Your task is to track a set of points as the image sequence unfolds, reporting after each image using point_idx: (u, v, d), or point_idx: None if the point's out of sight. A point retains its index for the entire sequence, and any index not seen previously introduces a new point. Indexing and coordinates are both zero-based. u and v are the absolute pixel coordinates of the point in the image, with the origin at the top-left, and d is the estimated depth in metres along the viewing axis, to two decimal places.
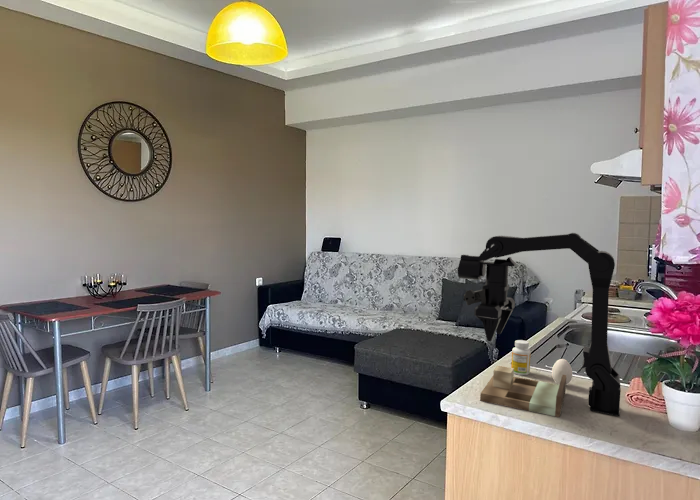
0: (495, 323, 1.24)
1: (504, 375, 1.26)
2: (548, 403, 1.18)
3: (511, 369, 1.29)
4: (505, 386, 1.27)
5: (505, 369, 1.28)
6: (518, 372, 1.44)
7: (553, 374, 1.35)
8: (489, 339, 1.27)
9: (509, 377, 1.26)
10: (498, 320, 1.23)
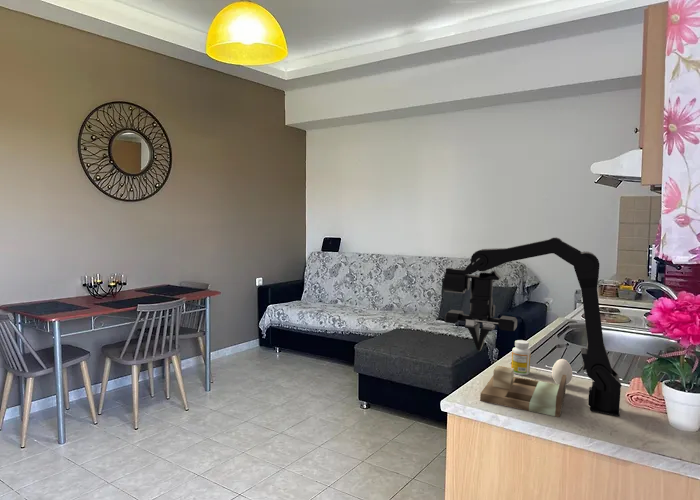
0: None
1: (504, 375, 1.26)
2: (548, 403, 1.18)
3: (511, 369, 1.29)
4: (505, 386, 1.27)
5: (505, 369, 1.28)
6: (518, 372, 1.44)
7: (553, 374, 1.35)
8: None
9: (509, 377, 1.26)
10: None
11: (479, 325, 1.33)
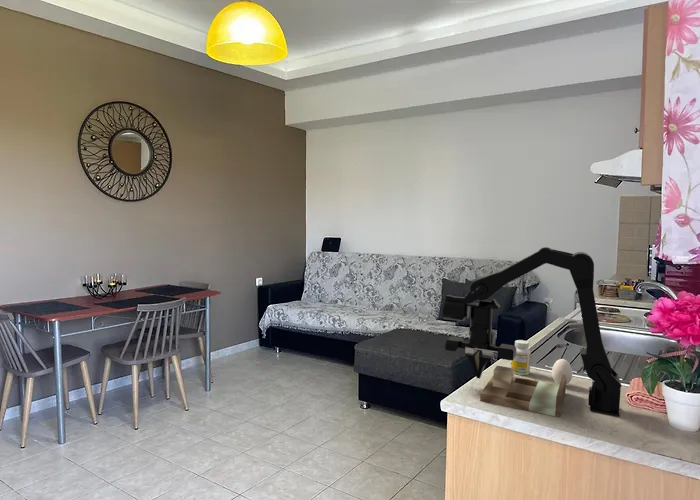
0: None
1: (504, 375, 1.26)
2: (548, 403, 1.18)
3: (511, 369, 1.29)
4: (505, 386, 1.27)
5: (505, 369, 1.28)
6: (518, 372, 1.44)
7: (553, 374, 1.35)
8: None
9: (509, 377, 1.26)
10: None
11: None
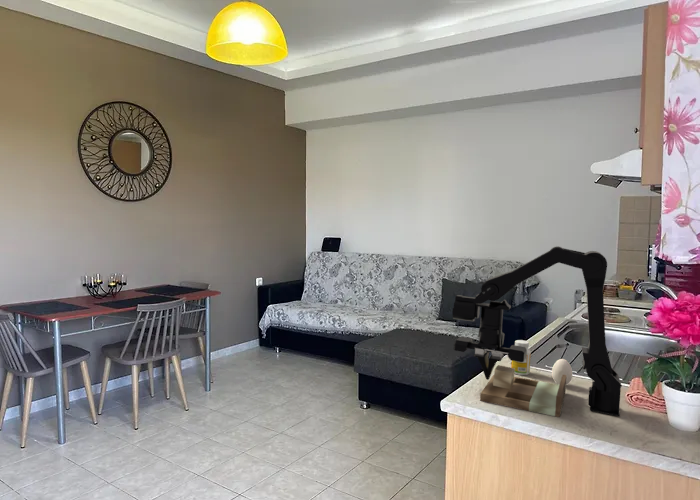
0: None
1: (505, 375, 1.26)
2: (548, 403, 1.18)
3: (512, 369, 1.28)
4: (505, 386, 1.26)
5: (506, 369, 1.28)
6: (518, 372, 1.44)
7: (553, 374, 1.35)
8: None
9: (510, 377, 1.26)
10: None
11: (488, 353, 1.33)
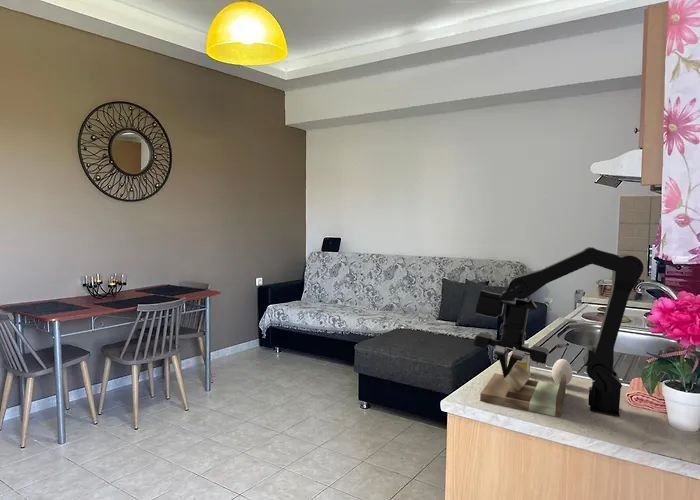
0: None
1: (521, 377, 1.24)
2: (548, 403, 1.18)
3: (529, 374, 1.26)
4: (515, 386, 1.25)
5: (524, 371, 1.26)
6: None
7: (553, 374, 1.35)
8: None
9: (524, 381, 1.24)
10: (496, 354, 1.27)
11: (508, 351, 1.30)
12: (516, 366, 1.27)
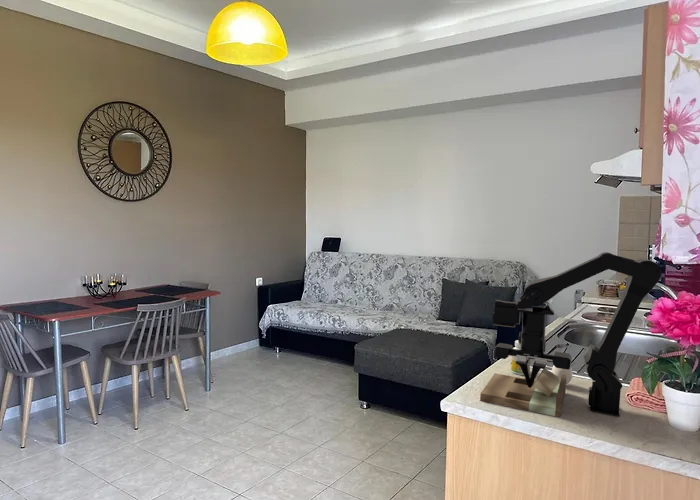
0: None
1: (550, 382, 1.21)
2: (548, 403, 1.18)
3: (558, 378, 1.23)
4: (545, 392, 1.22)
5: (552, 376, 1.23)
6: (518, 372, 1.44)
7: None
8: None
9: (554, 386, 1.21)
10: (518, 364, 1.24)
11: (529, 360, 1.27)
12: (544, 371, 1.23)
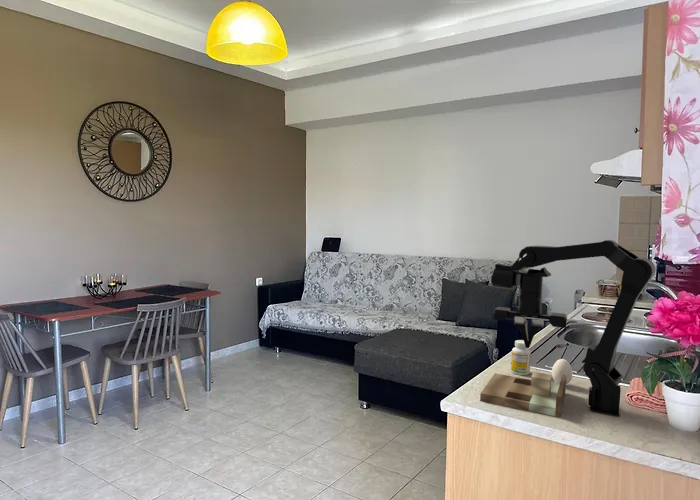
0: None
1: (543, 382, 1.22)
2: (548, 403, 1.18)
3: (549, 375, 1.24)
4: (543, 393, 1.22)
5: (543, 375, 1.24)
6: (518, 372, 1.44)
7: (553, 374, 1.35)
8: (525, 345, 1.31)
9: (548, 384, 1.21)
10: None
11: None
12: (533, 374, 1.25)
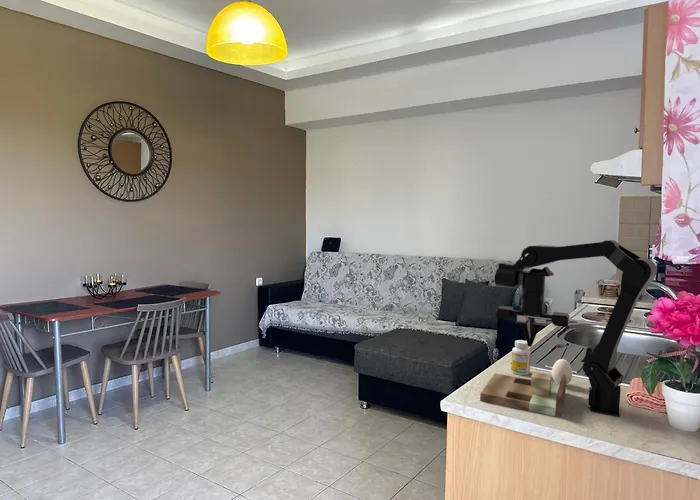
0: None
1: (543, 382, 1.22)
2: (548, 403, 1.18)
3: (549, 375, 1.24)
4: (543, 393, 1.22)
5: (543, 375, 1.24)
6: (518, 372, 1.44)
7: (553, 374, 1.35)
8: (528, 344, 1.32)
9: (548, 384, 1.21)
10: None
11: (529, 321, 1.34)
12: (533, 374, 1.25)
